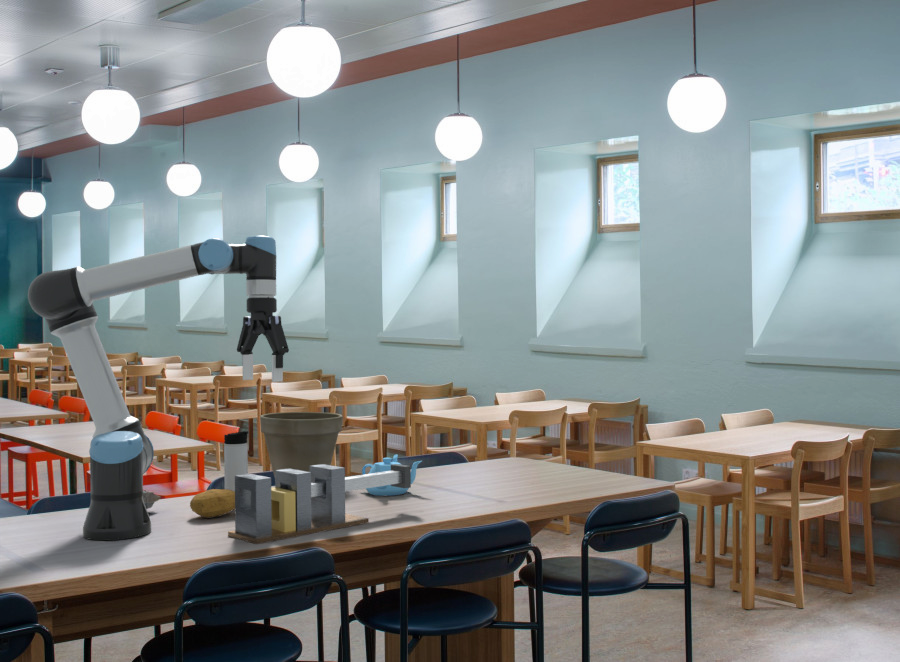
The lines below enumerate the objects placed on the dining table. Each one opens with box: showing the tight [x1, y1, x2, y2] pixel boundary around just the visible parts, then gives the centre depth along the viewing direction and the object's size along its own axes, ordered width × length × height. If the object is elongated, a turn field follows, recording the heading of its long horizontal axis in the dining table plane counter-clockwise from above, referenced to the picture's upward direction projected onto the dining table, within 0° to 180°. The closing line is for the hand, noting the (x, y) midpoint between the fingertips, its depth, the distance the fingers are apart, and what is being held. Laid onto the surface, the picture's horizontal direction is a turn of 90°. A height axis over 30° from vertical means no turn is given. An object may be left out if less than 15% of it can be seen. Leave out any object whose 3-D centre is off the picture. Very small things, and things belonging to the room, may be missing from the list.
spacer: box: [271, 486, 296, 532], centre depth 223 cm, size 3×9×9 cm, turn 42°
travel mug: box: [223, 430, 249, 492], centre depth 261 cm, size 6×7×20 cm
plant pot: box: [259, 411, 344, 478], centre depth 290 cm, size 25×25×22 cm
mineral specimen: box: [143, 489, 162, 510], centre depth 249 cm, size 10×8×10 cm
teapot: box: [361, 453, 423, 497], centre depth 276 cm, size 15×15×10 cm
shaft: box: [289, 463, 412, 497], centre depth 238 cm, size 35×6×6 cm, turn 134°
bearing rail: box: [227, 464, 369, 545], centre depth 227 cm, size 32×12×14 cm, turn 134°
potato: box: [189, 488, 235, 519], centre depth 244 cm, size 9×13×7 cm
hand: (262, 380), depth 242 cm, fingers open, 13 cm apart
